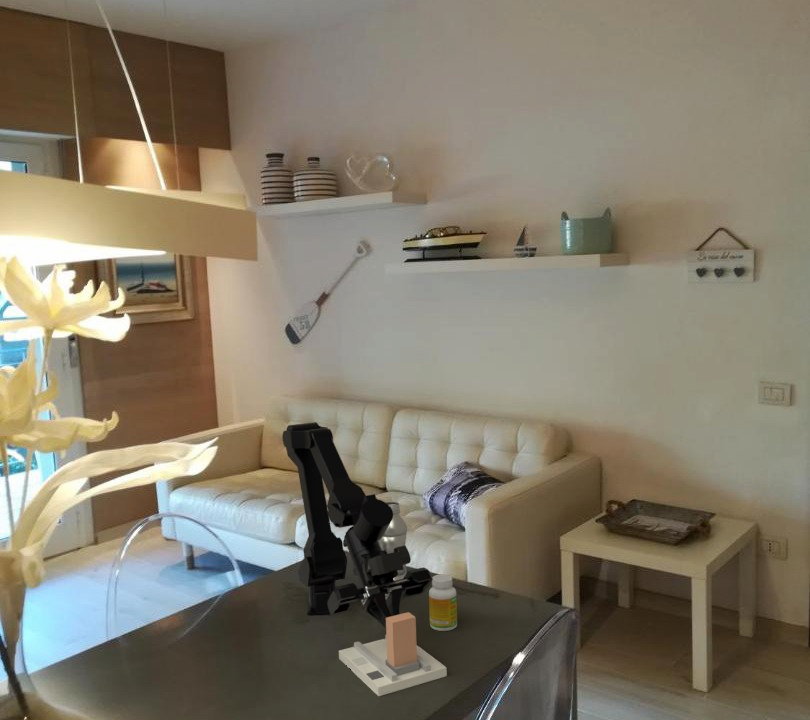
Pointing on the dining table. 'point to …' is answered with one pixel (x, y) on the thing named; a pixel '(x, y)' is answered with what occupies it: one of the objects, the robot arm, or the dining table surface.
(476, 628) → the dining table surface
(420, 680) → the switch board
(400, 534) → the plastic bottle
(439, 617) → the supplement bottle
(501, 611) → the dining table surface
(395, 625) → the slide tab
